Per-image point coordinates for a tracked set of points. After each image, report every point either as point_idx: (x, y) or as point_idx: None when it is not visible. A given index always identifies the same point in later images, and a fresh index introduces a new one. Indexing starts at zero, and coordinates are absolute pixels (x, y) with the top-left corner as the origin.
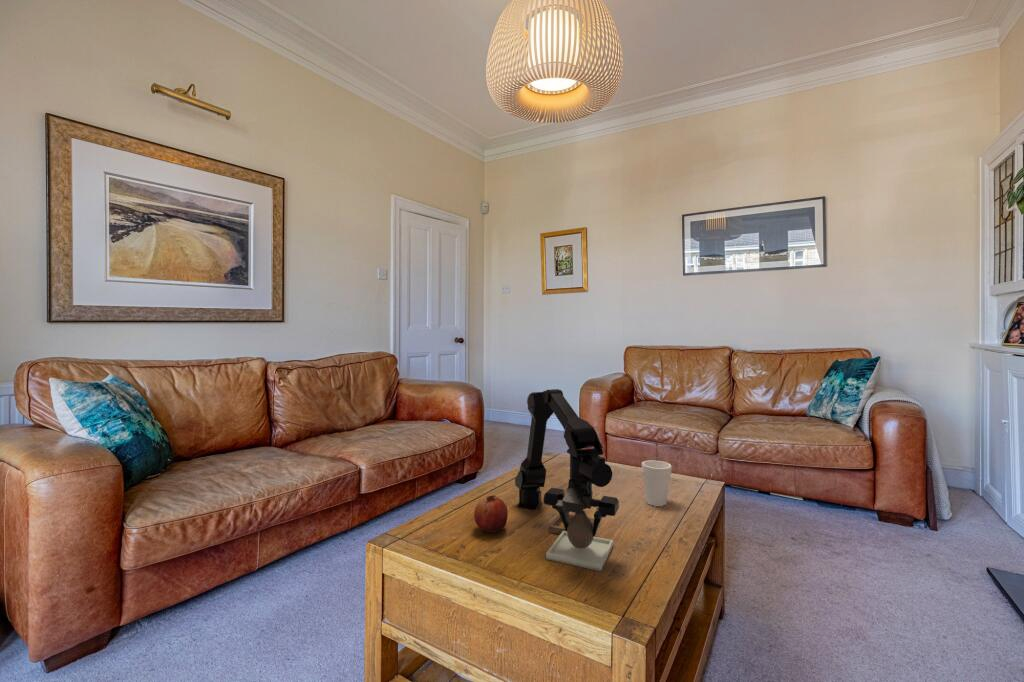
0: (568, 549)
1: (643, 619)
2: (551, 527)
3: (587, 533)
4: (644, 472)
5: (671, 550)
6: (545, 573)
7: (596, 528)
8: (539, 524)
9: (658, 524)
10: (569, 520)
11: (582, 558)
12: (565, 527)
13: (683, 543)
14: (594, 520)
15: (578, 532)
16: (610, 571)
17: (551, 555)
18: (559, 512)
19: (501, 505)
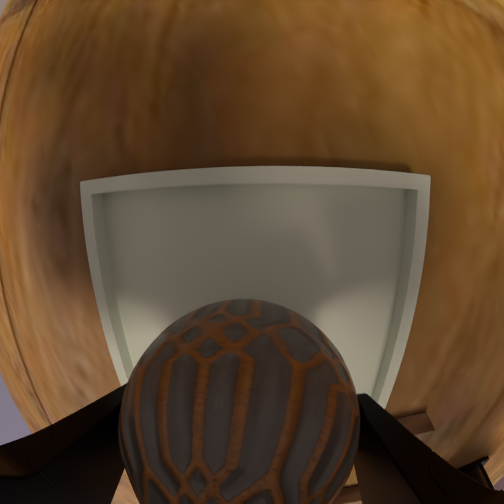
0: (321, 314)
1: (3, 29)
2: (422, 430)
3: (136, 370)
4: None
5: (28, 397)
6: (359, 37)
7: (75, 415)
8: (450, 432)
9: (116, 491)
10: (351, 487)
11: (208, 243)
12: (377, 410)
13: (35, 426)
14: (42, 462)
15: (209, 352)
16: (70, 203)
17: (396, 173)
18: (484, 493)
19: None
